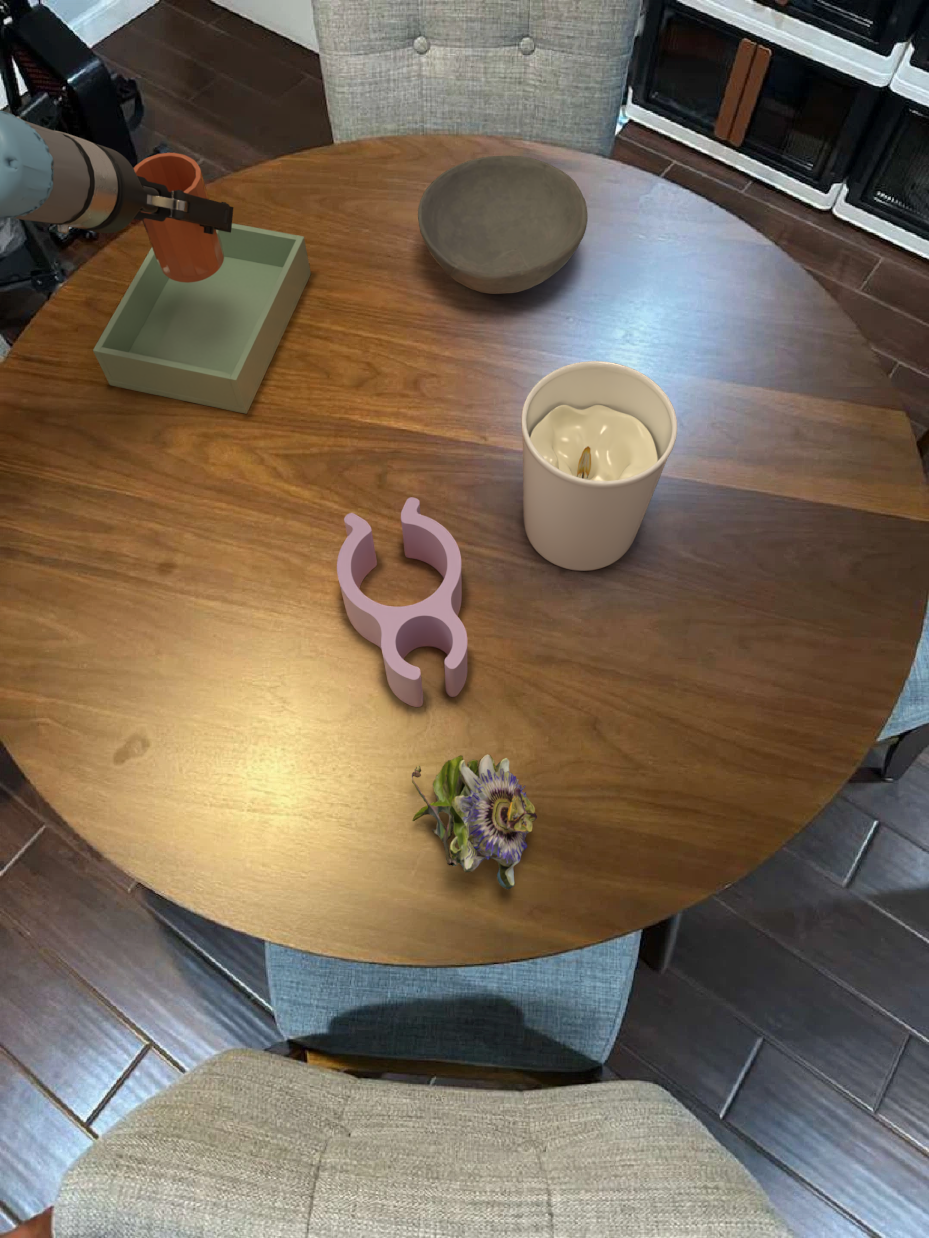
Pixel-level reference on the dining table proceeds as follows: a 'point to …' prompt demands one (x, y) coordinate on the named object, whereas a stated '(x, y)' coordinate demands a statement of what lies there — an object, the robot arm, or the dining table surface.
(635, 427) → the candle holder
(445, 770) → the passion flower
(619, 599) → the dining table surface
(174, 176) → the cup
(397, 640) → the clip
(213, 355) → the green tray
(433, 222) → the bowl
